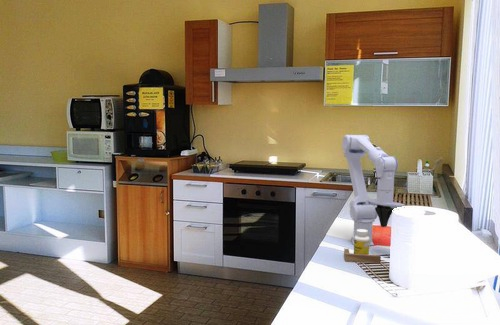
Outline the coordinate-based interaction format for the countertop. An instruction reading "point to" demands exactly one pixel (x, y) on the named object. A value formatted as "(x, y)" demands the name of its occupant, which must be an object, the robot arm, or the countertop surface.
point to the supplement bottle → (361, 242)
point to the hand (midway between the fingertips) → (383, 226)
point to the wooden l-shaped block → (361, 257)
